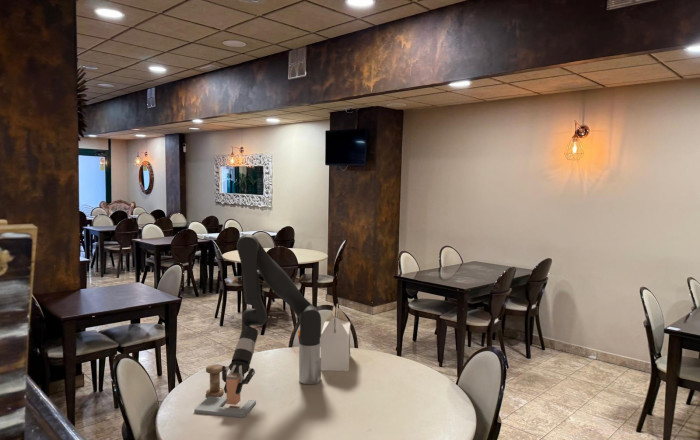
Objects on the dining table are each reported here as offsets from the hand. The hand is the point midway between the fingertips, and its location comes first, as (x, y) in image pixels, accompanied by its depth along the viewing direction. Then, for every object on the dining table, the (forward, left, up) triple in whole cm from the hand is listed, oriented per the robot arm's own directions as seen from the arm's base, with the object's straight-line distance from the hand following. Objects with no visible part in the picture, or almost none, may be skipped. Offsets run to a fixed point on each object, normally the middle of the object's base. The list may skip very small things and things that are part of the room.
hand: (231, 392), depth 181 cm
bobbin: (+12, -11, -6) cm, 18 cm away
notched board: (+2, 0, -6) cm, 7 cm away
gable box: (-30, -56, -6) cm, 64 cm away
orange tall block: (0, -2, -5) cm, 5 cm away
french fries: (-11, -68, -6) cm, 69 cm away
